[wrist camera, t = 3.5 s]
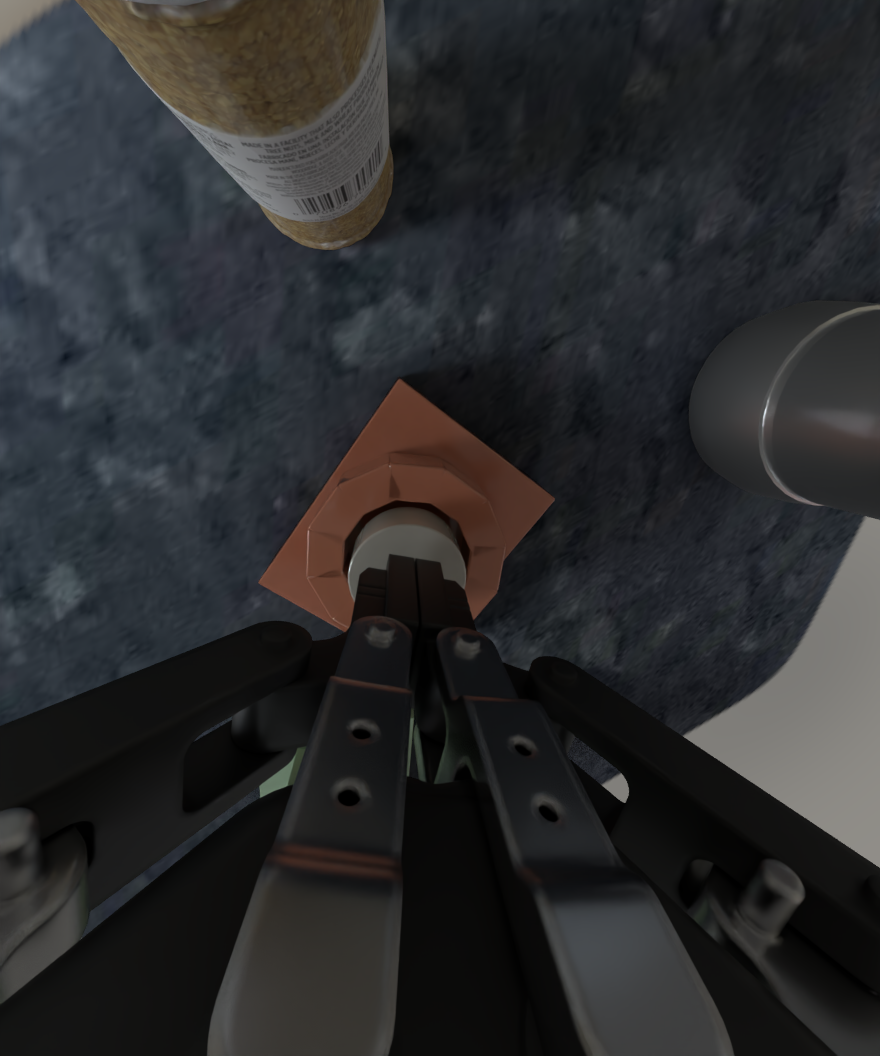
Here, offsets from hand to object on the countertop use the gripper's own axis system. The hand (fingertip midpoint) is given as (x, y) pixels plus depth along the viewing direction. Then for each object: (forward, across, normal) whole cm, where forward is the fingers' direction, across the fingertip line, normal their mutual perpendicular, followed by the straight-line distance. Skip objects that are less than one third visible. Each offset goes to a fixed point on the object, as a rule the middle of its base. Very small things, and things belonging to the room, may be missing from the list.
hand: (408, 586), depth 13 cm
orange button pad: (+6, 0, 0) cm, 6 cm away
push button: (+2, 0, 0) cm, 2 cm away
